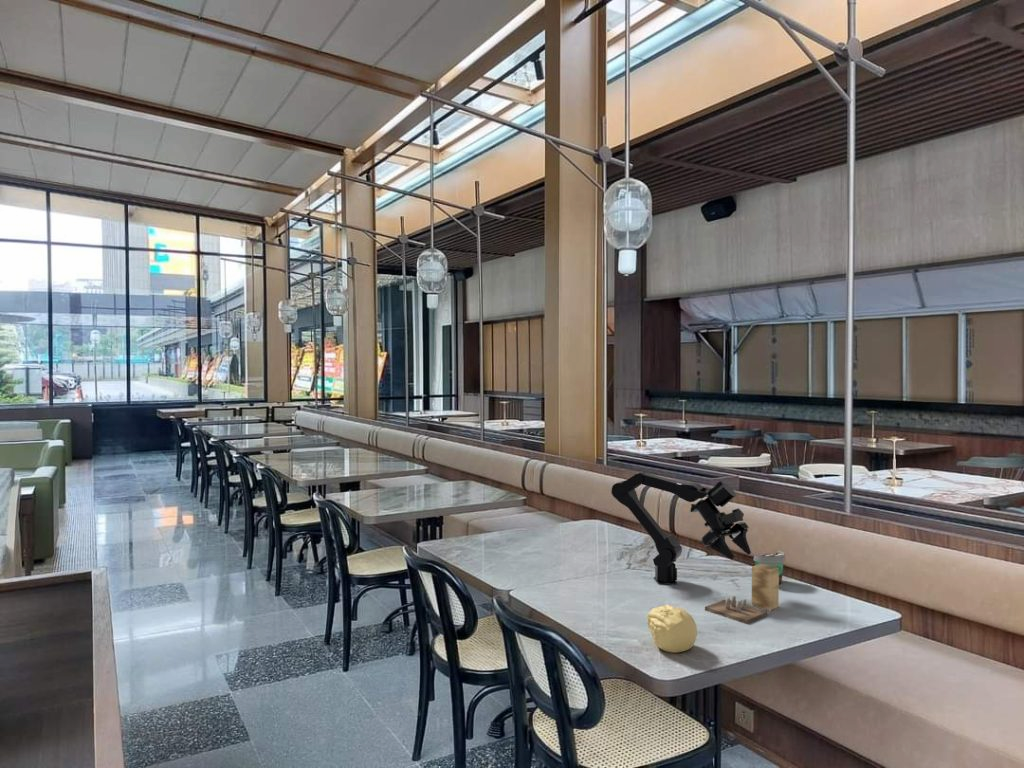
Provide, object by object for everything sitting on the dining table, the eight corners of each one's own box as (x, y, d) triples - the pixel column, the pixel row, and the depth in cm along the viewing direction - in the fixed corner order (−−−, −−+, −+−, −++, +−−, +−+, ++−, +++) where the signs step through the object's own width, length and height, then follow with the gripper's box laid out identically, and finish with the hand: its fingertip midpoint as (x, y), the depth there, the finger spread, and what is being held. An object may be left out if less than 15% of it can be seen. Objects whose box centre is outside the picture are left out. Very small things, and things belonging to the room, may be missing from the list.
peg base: (704, 610, 199) (704, 596, 199) (726, 602, 206) (726, 589, 206) (746, 623, 188) (746, 609, 188) (767, 615, 195) (767, 601, 195)
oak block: (751, 605, 203) (751, 566, 203) (760, 601, 206) (760, 563, 206) (769, 610, 199) (769, 571, 198) (778, 607, 202) (778, 567, 201)
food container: (767, 589, 218) (768, 559, 218) (753, 583, 224) (753, 554, 224) (793, 583, 224) (793, 554, 224) (778, 578, 230) (778, 550, 229)
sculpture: (640, 643, 175) (640, 602, 174) (676, 635, 180) (677, 596, 179) (668, 660, 164) (668, 617, 164) (705, 651, 169) (706, 610, 169)
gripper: (709, 504, 207) (741, 546, 198) (743, 497, 218) (774, 537, 210) (688, 525, 213) (718, 567, 205) (722, 517, 225) (751, 556, 216)
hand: (741, 556), depth 209 cm, fingers open, 9 cm apart
